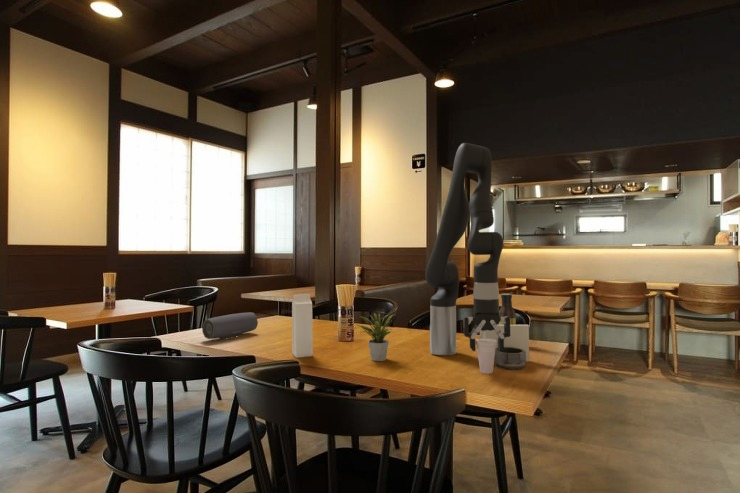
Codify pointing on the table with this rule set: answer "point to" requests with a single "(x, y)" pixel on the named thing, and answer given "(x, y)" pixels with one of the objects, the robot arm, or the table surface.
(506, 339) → the mounting board
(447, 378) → the table surface
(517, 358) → the cup bracket
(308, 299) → the milk
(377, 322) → the house plant
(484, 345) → the smoothie
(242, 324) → the bluetooth speaker
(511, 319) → the sauce bottle
